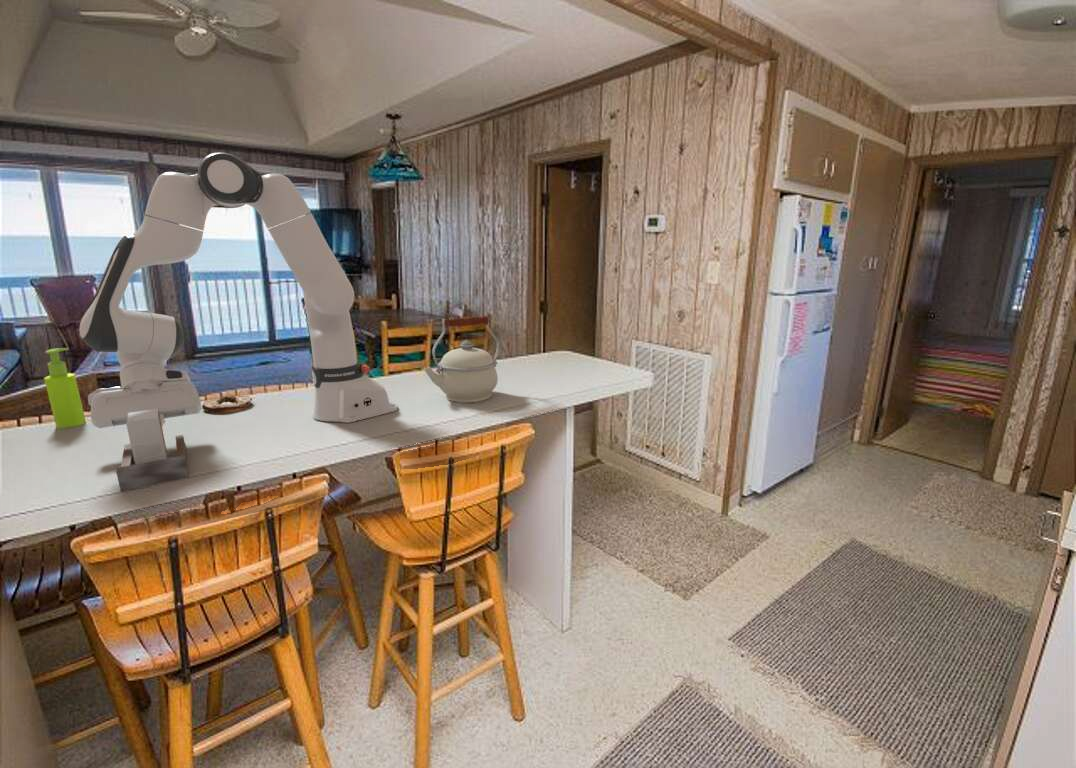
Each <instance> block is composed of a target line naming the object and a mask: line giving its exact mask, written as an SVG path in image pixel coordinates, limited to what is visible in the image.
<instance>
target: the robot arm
mask: <svg viewBox="0 0 1076 768" xmlns="http://www.w3.org/2000/svg"><path fill="white" fill-rule="evenodd" d="M245 205H248V206H250V207H251V208H253V209H254V210H256V212H257V213H258V215H259V216H260V217H261V220H262V221H263V223H264V224H265V226H266V229H267V230H268V232H269V234H270V235H271V238H272V240H273V241H274V243H275V244H276V246H277V248H278V250H279V253H280V254H281V255H282V257H283V259H284V261H285V262H286V265H288V267H289V269H290V270H291V273H292V274H293V275H294V278H295V279H296V280H297V282H298V285H299V286H300V287H301V290H302V292H303V299H304V307H305V313H306V320H307V325H308V332H309V336H310V346H311V347H310V348H311V353H312V363H313V365H312V366H311V370H312V371H311V374H312V375H311V376H312V383H313V386H314V387H315V388H314V391H315V392H314V393H315V394H314V395H315V396H314V407H313V413H312V418H313V419H315V420H317V421H321V422H340V423H346V424H347V423H348V424H349V423H354V422H356V421H357V420H358V421H361V420H365V419H369V418H373V417H379V416H381V415H384V414H389V413H394V412H396V411H397V410H398V405H397V403H396V402H395V401H394V400H392V399H390V398H389V397H388V392H387V391H386V388H385V387H384V386H383V384H381V383H379V382H377V381H376V380H374V379H373V378H371V377H370V376H367V375H366V374H368V373H369V372H371V367H370V366H369V365H367V364H363V363H361V362H358V361H357V353H356V351H357V349H356V339H355V332H354V329H353V324H352V318H351V315H350V309H351V308H352V306H353V304H354V301H355V291H354V288H353V285H352V284H351V282H350V279H349V278H348V277H347V274H346V273H345V271H344V269H343V268H342V266H341V264H340V263H339V261H338V259H337V257H336V256H335V254H334V253H333V252H334V251H332V249H331V248H330V246H329V244H328V242H327V239H325V237H324V235H323V233H322V231H321V229H320V227H319V225H318V223H317V221H316V219H315V217H314V216H313V214H312V212H311V210H310V208H309V206H308V203H307V202H306V201H305V199H304V198H303V196H302V194H301V193H300V191H299V190H298V189H297V187H296V185H294V183H293V182H292V181H291V179H290V178H289V177H287V176H286V175H283V174H281V173H267V174H263V175H262V174H261V173H260V172H258V171H257V170H256V169H254V167H252V166H251V165H250V164H248V163H246V162H245V161H244V160H243V159H241V158H239V157H238V156H236V155H234V154H231V153H228V152H213V153H210V154H208V155H206V156H205V157H204V158H203V159H202V160H201V161H200V163H199V165H198V168H197V173H195V174H190V175H189V174H185V173H182V172H179V171H178V172H177V171H166V172H163V173H161V174H160V175H158V176H157V178H156V180H155V182H154V184H153V186H152V189H151V191H150V194H149V197H148V200H147V204H146V207H145V208H146V209H145V212H144V218H143V220H142V223H141V225H140V226H139V227H138V228H137V230H136V231H135V232H133V233H132V234H129V235H124V236H122V238H121V239H120V240H119V241H118V243H117V244H116V246H115V248H114V250H113V251H112V255H110V258H109V261H108V263H107V266H106V267H105V268H104V269H105V270H104V272H103V275H102V276H101V279H100V281H99V284H98V287H96V291H95V294H94V296H93V297H92V300H91V302H90V304H89V305H88V307H87V309H86V311H85V313H84V314H83V316H82V318H81V320H80V323H79V338H80V340H81V341H82V342H84V344H86V345H87V347H89V348H90V349H92V350H93V351H95V352H97V353H116V355H117V361H118V364H119V365H120V370H119V379H120V380H119V381H120V386H113V387H112V386H111V387H108V388H97V389H95V391H92V392H90V393H89V394H88V396H87V400H88V401H87V402H88V405H89V406H90V420H91V422H92V425H93V426H95V427H96V428H98V429H104V428H111V427H117V426H124V425H126V422H127V417H128V413H131V412H138V411H145V410H152V409H159V414H160V419H161V424H162V427H163V426H164V425H165V423H166V420H165V419H169V418H175V417H184V416H189V415H197V414H199V413H200V412H201V411H202V410H203V408H202V404H201V399H200V396H199V393H198V390H197V388H196V386H195V384H194V383H193V382H191V379H190V378H191V377H190V376H189V374H188V372H187V371H185V370H178V369H170V368H166V367H165V362H166V361H169V360H170V359H172V358H173V357H175V356H176V355H177V354H178V353H179V352H181V350H182V349H183V347H184V344H185V337H184V336H185V335H184V329H183V327H182V324H180V322H179V321H178V320H177V319H176V318H175V317H174V316H171V315H168V314H167V315H166V314H160V313H154V312H145V311H139V310H138V311H137V310H131V309H127V308H122V307H120V304H121V303H122V299H123V298H124V295H125V292H126V290H127V289H128V288H127V287H128V285H129V283H130V281H131V278H132V277H133V275H134V274H135V273H137V271H138V270H141V269H143V268H146V267H150V266H157V265H158V266H159V265H169V264H177V263H181V262H184V261H186V260H188V259H190V258H192V257H193V256H194V255H196V254H197V253H198V251H199V248H200V246H201V243H202V240H203V235H204V229H205V224H206V220H207V215H208V213H209V212H210V210H211V209H212V208H223V209H234V208H237V209H238V208H240V207H243V206H245Z"/></svg>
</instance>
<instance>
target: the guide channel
mask: <svg viewBox="0 0 1076 768" xmlns="http://www.w3.org/2000/svg"><path fill="white" fill-rule="evenodd" d="M175 447H176V456H175V457H174V456H173V457H169V458H168V457H167V459H162V460H157V461H152V462H146V463H141V464H136V465H135V464H134V462H133V460H134V457H133V452H132V448H131V443H127V444H126V443H125V444H124V446H123V452H122V457H121V464H120V467H116V471H115V472H116V477H117V481H118V486H119V489H120V492H122V491H126V490H127V491H128V490H130V489H136V488H141V487H146V486H150V485H155V484H161V483H163V482H164V483H165V482H169V481H173V480H174V481H175V480H179V479H184V478H187V477H188V478H189V477H190V475H189V467H188V466H189V464H188V460H187V450H186V445H185V437H184V434H179V435H175Z"/></svg>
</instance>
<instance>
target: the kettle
mask: <svg viewBox="0 0 1076 768" xmlns="http://www.w3.org/2000/svg"><path fill="white" fill-rule="evenodd" d="M489 320H490V319H489V316H488V315H483V316H468V317H467V316H463V317H454V318H452V319H448V318H442V321H441V322H442V323H441V324H442V332H441V334H440V335H439V336H438V338H437V340H436V341H435V342H434V344H433V347H432V351H431V353H432V355H431V356H432V357H433V360H434V363H435V365H436V367H437V368H436V369H435V371H434V370H433V368H432V367H430V366H424V367H422V368H423V371H424V372H425V373H426V374H427V376H428V377H429V379H430V381H431V382H432V383H433V384H434V385H436V386H437V387H438V388H439V389H440V390H441V391H442V392H443V393H444V394H445V398H446V399H447V400H448V401H450V402H454V403H461V404H462V403H463V404H464V403H465V404H469V403H471V404H472V403H479V402H483V401H486V400H489V398H491V396H492V392H493V391H494V389H495V388H496V386H497V385H498V381H499V380H498V374H497V370H496V368H497V365H498V361H497V359H498V355H499V353H500V342H499V339H498V338H497V337H496V335H495V334H494V333H493V332H492V330H491V328H490V325H489V322H490V321H489ZM481 324H483V325H485V326H486V327H485V328H486V329H487V332H488V333H489V334H490V335H491V336H492V337H493V339H494V341H495V342H496V349H495V353H494V357H492V355H491V354H490V353H489V352H488V351H486V350H484V349H482V348H476V347H473V346H474V344H473V342H472V341H470V340H469V339H465V340H463V341H462V342H461V344H460V348H459V347H458V348H454V349H452V350H449V351H447V352H446V353H445V354H444V355H443V356H442V358H441V360H440V361H439V362H438V360H437V358H436V349H437V346H438V345H439V343H440V342H441V340H442V339H443V337H444V335H445V333H446V329H447V328H449V327H467V326H476V325H481Z"/></svg>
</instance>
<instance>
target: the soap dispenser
mask: <svg viewBox="0 0 1076 768" xmlns="http://www.w3.org/2000/svg"><path fill="white" fill-rule="evenodd" d="M62 351H69V348H68V347H58V348H56V347H55V348H50V349H47V350H45V351H44V353H45V354H47V355H49V358H50V361H49V362H48V363H47V364H46V365H47V368H48V372H49V375H48V376H44V377H43V381H44V384H45V388H46V391H47V392H46V393H47V395H48V400H49V403H50V408H51V410H52V411H51V412H52V415H53V419H54V424H55V427H56V428H57V427H58V428H57V429H67V427H69V428H74V427H79V426H82V425H85V424H86V423H87V420H86V416H85V412H84V408H83V404H82V399H81V396H80V395H81V394H80V391H79V387H78V383H77V379H76V374H75V373H71V372H70V373H69V372H68V368H67V363H66V362H65V361H63V360H61V359H60V358H61V357H60V354H59V352H62ZM65 427H66V428H65Z"/></svg>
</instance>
